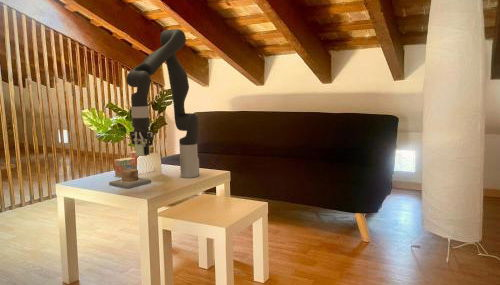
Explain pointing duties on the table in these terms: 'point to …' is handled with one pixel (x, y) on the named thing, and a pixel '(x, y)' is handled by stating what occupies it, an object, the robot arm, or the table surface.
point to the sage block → (140, 150)
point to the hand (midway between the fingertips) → (142, 154)
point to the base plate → (129, 185)
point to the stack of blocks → (125, 164)
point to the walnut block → (129, 175)
